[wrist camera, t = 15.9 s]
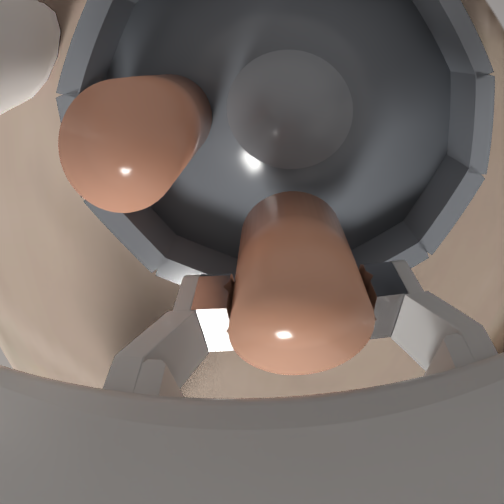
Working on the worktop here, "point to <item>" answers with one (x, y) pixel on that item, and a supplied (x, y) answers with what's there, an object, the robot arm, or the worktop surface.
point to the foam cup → (25, 49)
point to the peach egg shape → (132, 138)
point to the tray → (356, 180)
